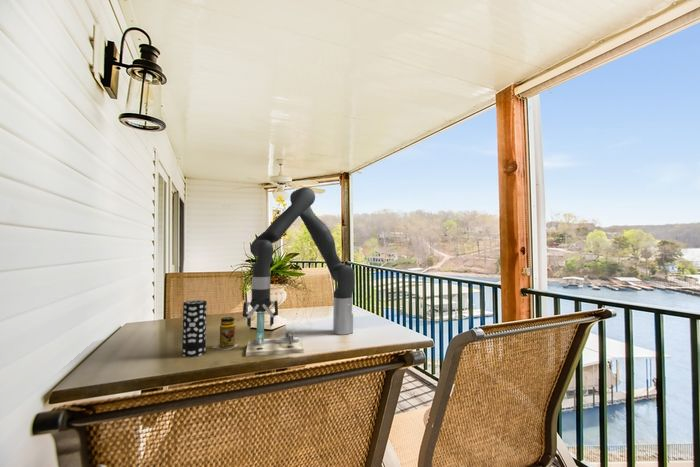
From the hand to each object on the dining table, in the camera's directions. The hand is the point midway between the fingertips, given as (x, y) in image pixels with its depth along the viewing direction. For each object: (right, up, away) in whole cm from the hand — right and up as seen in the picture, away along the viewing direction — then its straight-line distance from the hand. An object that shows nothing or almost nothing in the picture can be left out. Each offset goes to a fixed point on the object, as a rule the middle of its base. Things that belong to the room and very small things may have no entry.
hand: (260, 326), depth 141 cm
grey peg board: (+7, -9, -2) cm, 11 cm away
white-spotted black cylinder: (-24, -8, -9) cm, 27 cm away
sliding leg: (+1, -6, -3) cm, 7 cm away
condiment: (-15, -9, +1) cm, 17 cm away
